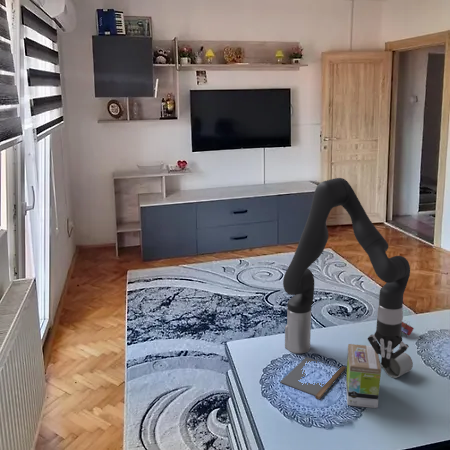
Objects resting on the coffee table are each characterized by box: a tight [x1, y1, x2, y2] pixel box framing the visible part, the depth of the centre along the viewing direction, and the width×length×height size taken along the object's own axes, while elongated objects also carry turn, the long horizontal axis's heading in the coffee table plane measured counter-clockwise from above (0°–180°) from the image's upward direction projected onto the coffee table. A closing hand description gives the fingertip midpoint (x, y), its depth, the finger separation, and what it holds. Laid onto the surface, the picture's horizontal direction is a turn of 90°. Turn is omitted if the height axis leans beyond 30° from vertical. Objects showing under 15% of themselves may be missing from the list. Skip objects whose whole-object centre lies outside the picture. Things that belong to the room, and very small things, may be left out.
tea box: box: [345, 343, 382, 409], centre depth 165 cm, size 15×10×15 cm, turn 168°
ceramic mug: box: [380, 352, 414, 379], centre depth 178 cm, size 11×8×8 cm
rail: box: [314, 365, 347, 400], centre depth 173 cm, size 2×22×1 cm, turn 143°
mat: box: [279, 356, 339, 397], centre depth 178 cm, size 14×20×1 cm
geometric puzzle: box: [401, 321, 415, 337], centre depth 204 cm, size 7×7×8 cm
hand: (385, 366), depth 159 cm, fingers closed
